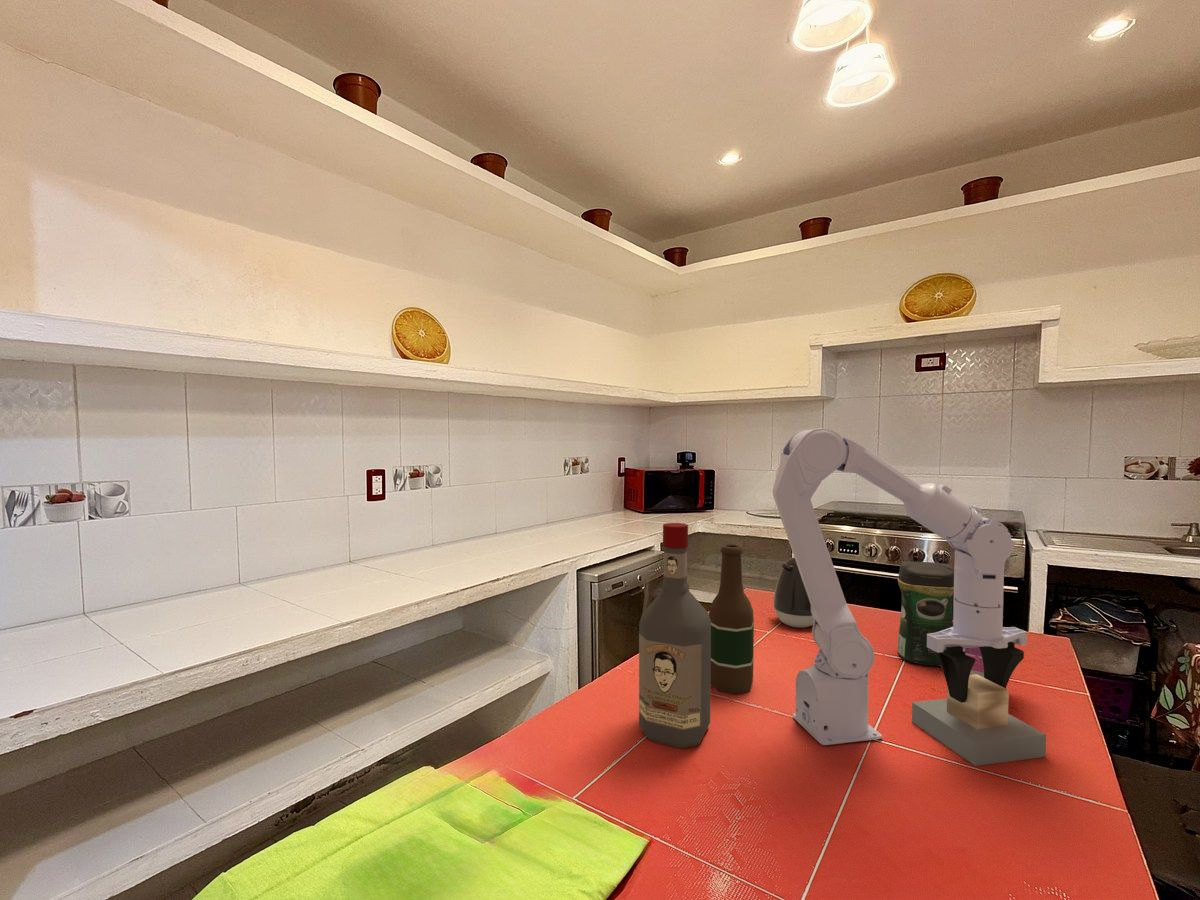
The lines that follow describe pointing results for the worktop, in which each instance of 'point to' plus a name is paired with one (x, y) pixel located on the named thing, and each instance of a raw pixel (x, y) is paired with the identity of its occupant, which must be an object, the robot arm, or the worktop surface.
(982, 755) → the slate pedestal
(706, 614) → the liquor
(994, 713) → the birch cube
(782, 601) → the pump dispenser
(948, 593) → the coffee jar
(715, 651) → the beer bottle
